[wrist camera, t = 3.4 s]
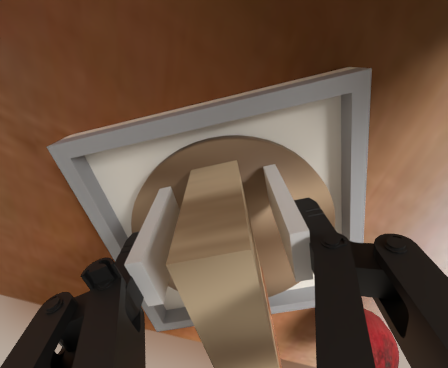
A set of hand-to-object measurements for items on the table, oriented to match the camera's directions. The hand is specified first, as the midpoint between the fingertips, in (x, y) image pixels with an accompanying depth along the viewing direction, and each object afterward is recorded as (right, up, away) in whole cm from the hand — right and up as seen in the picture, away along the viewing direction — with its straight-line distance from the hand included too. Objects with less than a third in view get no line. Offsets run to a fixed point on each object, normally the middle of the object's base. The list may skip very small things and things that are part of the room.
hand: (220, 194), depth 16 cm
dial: (+1, -3, +3) cm, 4 cm away
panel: (+1, -2, +4) cm, 5 cm away
